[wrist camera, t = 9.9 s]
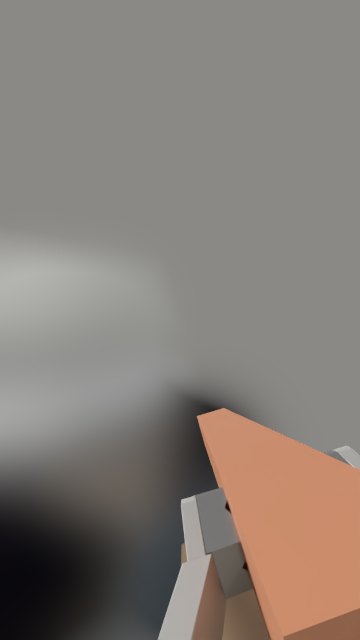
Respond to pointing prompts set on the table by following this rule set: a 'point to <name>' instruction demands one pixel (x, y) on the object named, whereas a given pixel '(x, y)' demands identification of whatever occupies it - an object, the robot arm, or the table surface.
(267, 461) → the pin
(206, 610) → the robot arm
